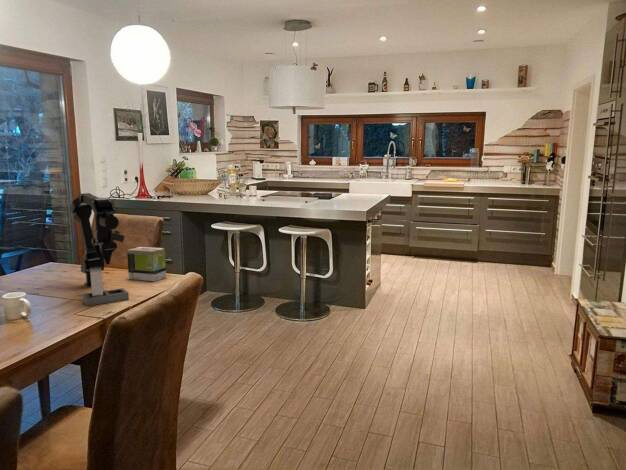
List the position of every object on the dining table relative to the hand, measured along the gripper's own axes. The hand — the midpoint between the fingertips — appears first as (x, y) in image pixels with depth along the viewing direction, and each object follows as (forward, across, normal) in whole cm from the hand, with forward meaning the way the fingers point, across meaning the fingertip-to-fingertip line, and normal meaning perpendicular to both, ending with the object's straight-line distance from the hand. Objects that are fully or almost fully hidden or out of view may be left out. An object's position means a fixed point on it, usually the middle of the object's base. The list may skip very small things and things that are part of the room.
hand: (105, 262), depth 209 cm
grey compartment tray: (+13, -14, +4) cm, 20 cm away
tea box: (+13, +13, -22) cm, 29 cm away
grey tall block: (+13, -14, +7) cm, 20 cm away
